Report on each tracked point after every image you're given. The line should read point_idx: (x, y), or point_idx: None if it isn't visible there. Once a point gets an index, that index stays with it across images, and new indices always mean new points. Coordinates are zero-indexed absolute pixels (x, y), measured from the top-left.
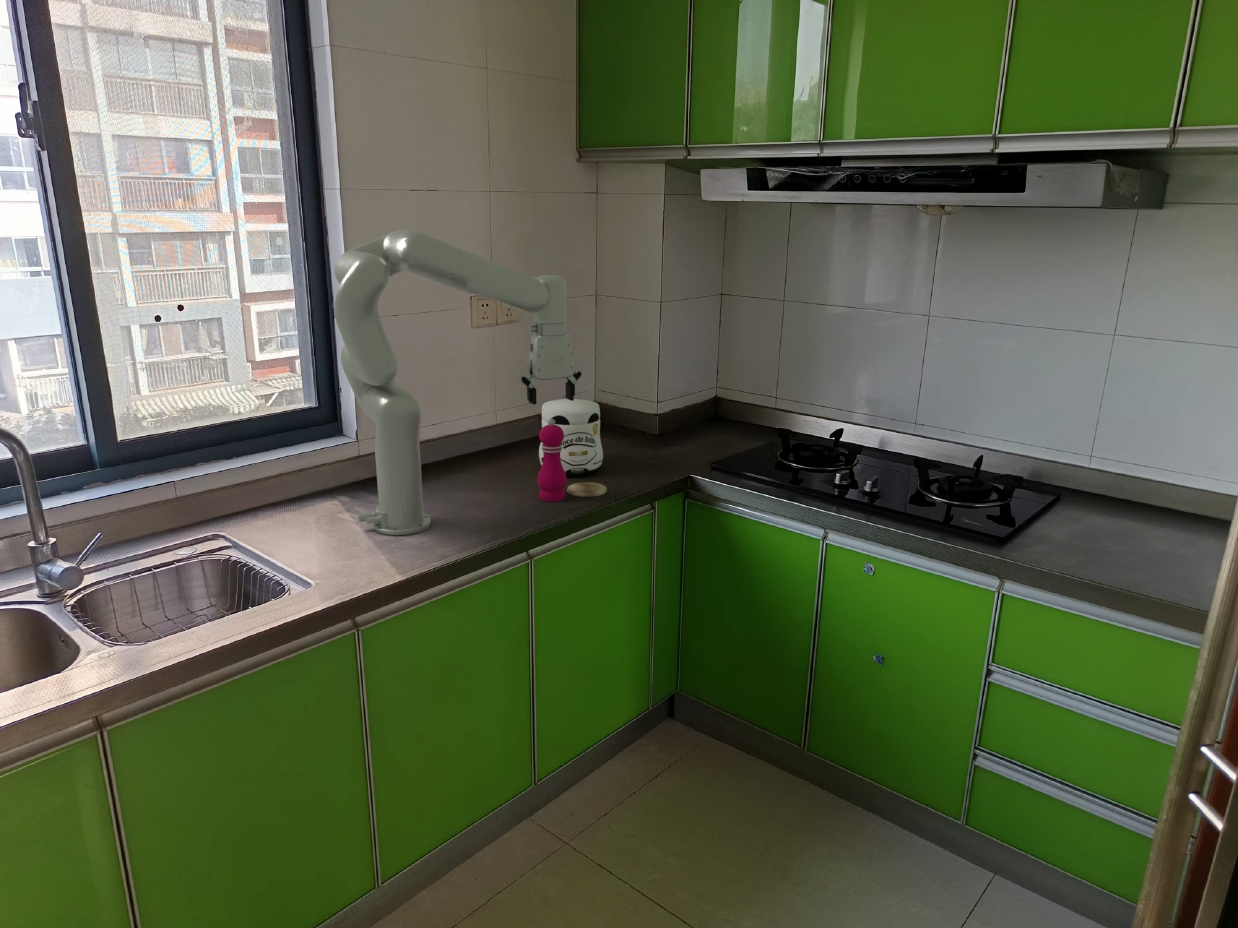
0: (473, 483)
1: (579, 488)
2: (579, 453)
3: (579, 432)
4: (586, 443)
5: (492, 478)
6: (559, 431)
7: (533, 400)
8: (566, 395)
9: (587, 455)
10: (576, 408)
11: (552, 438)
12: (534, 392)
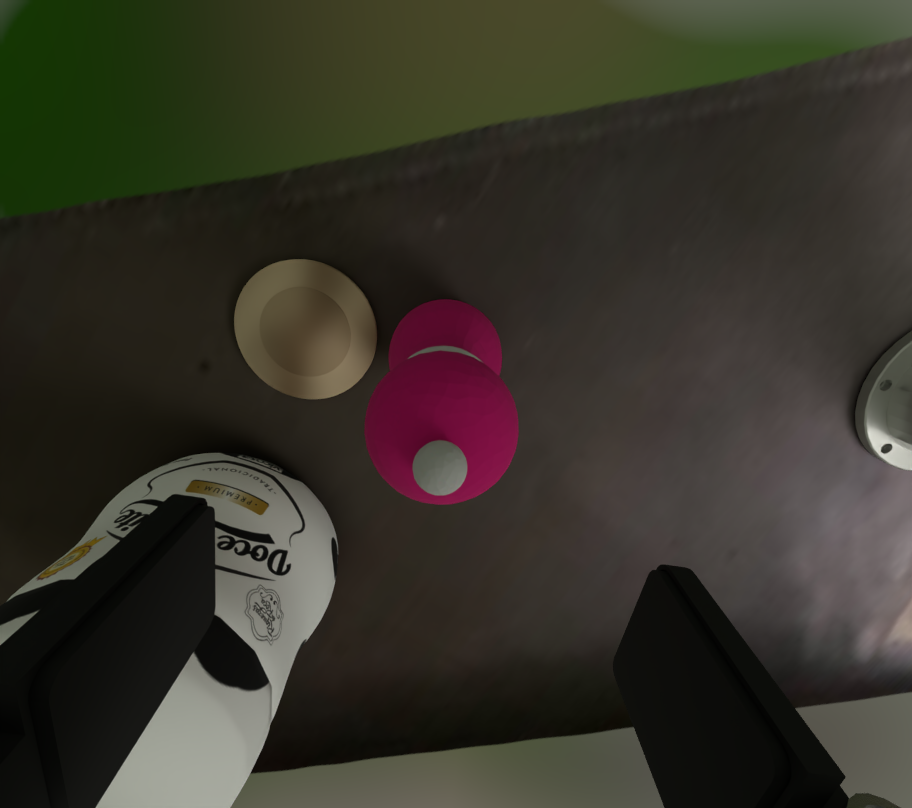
0: (557, 574)
1: (330, 345)
2: (224, 492)
3: None
4: None
5: (490, 581)
6: (422, 378)
7: (707, 607)
8: (196, 627)
9: (196, 477)
10: None
11: (482, 364)
12: (776, 697)
